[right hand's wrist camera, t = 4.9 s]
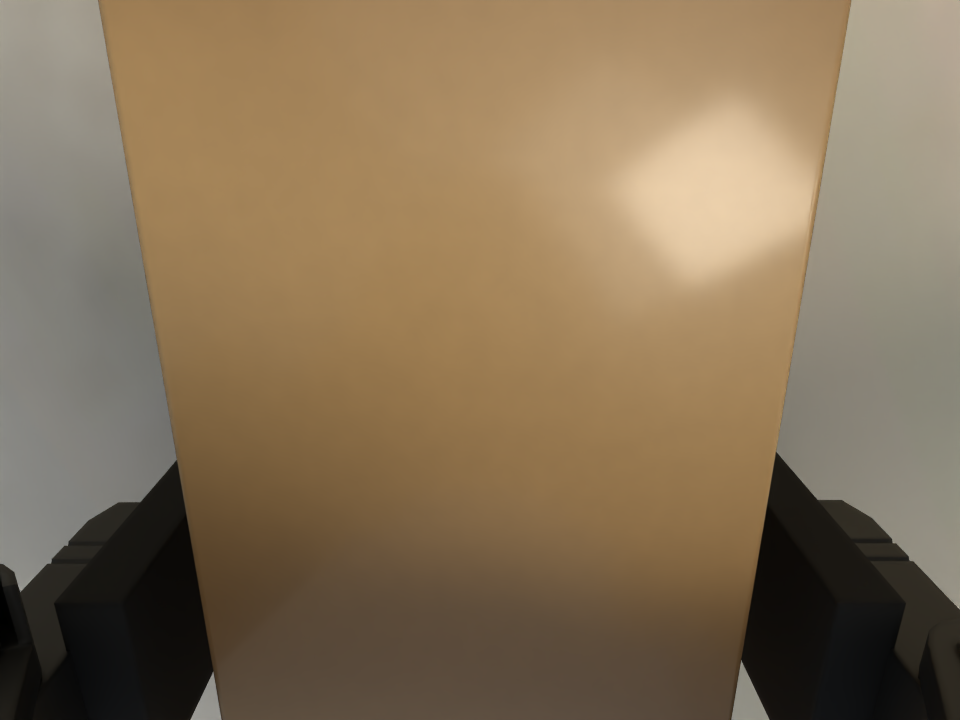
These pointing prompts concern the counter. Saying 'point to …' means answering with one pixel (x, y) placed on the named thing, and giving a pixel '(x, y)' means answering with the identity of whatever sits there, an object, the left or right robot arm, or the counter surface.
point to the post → (475, 336)
